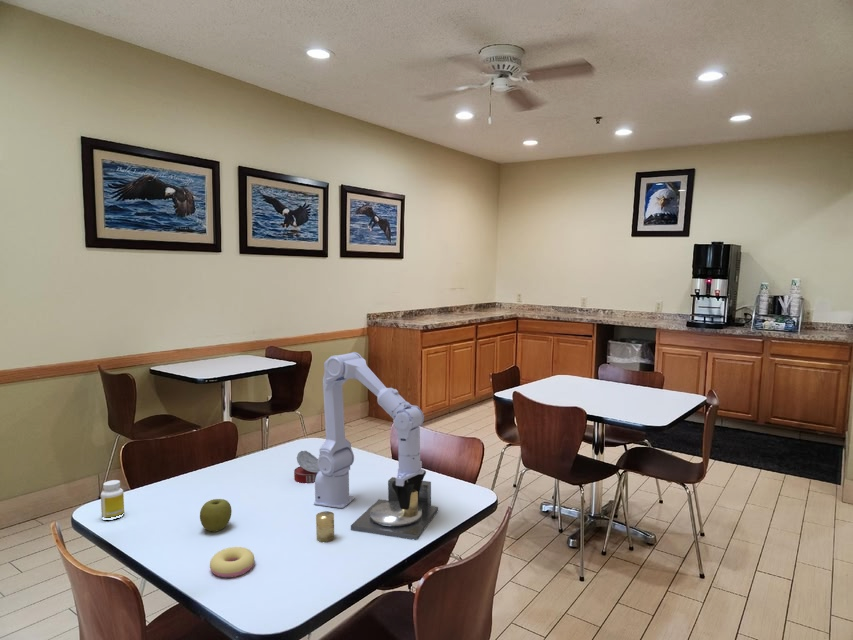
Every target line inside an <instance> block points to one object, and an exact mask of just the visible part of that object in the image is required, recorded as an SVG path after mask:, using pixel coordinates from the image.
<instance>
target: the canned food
mask: <svg viewBox="0 0 853 640" xmlns="http://www.w3.org/2000/svg"><path fill="white" fill-rule="evenodd" d="M296 460H297V461H296V462H297V464H298V467H296V468H295V469H294V470H293V471H294V472H293V473H294V476H293V477H294V478H293V479H294V482H296V483H298V482H299V484H305V483H307V484H315V483H314V482H315V479H316V475H317V473H318V472H319V471H320V469H319V467H318V458H317V457H316V456H315V455H313V454H312V453H311V452H310V451H307V450H300V451H299V452H298V453H297V456H296Z"/></svg>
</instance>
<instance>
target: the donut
mask: <svg viewBox="0 0 853 640" xmlns="http://www.w3.org/2000/svg"><path fill="white" fill-rule="evenodd" d="M254 564H255V555H254V553H253V551H252V550H250V549H249V548H247V547H242V546H232V547H227V548H223V549H222V550H219V551H217V552H216V553H215V554H214V555H213V556H212V558H210V562H209V568H210V571H211V573H212V574H214V575H215V576H217V577H219V578H220V577H221V578H235V576H236V577H239V576H241V575H243V574H244V575H245V574H246V573H247V572H249V571H250V570H251V568H252V567H253V565H254Z"/></svg>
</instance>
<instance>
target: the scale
mask: <svg viewBox="0 0 853 640" xmlns="http://www.w3.org/2000/svg"><path fill="white" fill-rule="evenodd" d="M396 478H397V477H395V476H394V477H393V476H392V477H390V479H388V480H387V485H388V486H387V491H388V492H387V493H388V494H387V495H388V498H387V499H381V498H379V499H377V500H376V501H375V502H374V503H373V504H372V505H371V506H370V507H369V508H368V509H366V511H365V512H363V513H362V514H361V515H360V516H359V517H358V518H357V519H356V520H355V521H354V522H353V523H351V524H350V531H355V532H362V533H367V534H375V535H380V536H388V537H395V538H398V539H399V538H400V539H406V538H407V539H406V540H412V539H414V540H413V541H417V540H416V539H418V538H419V537H420V536H419V535H421V534H422V533H423V532H424V530H425V529H426V528H427V526H428V525H429V524H430V523H431V521H432V520H433V519H434V517H435V516H436V514H437V513H438V512H439V507H438V506H436V505H435V506H434V505H432V481H428V480H423V481H422V484H421V489H420V494H419V497H418V506H419V507H420V508H421V509H422V516H421V518H420V519H419V520H418V521H416V522H414V523H412V524H408V525H404V526H385V525H380V524H377V523H375V522H373V521H372V520H371V518H370V511H371V509H372V508H373V507H375V506H377V505H379V504H382V503H386V502H393V501H398V497H397V494H396V492H395V490H394V489H393V487H392V483H393V482H394V481H396ZM407 482H408V480H407ZM437 511H438V512H437ZM434 515H435V516H434ZM431 519H432V520H431ZM428 523H429V524H428ZM425 527H426V528H425ZM424 528H425V529H424ZM422 531H423V532H422Z"/></svg>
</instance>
